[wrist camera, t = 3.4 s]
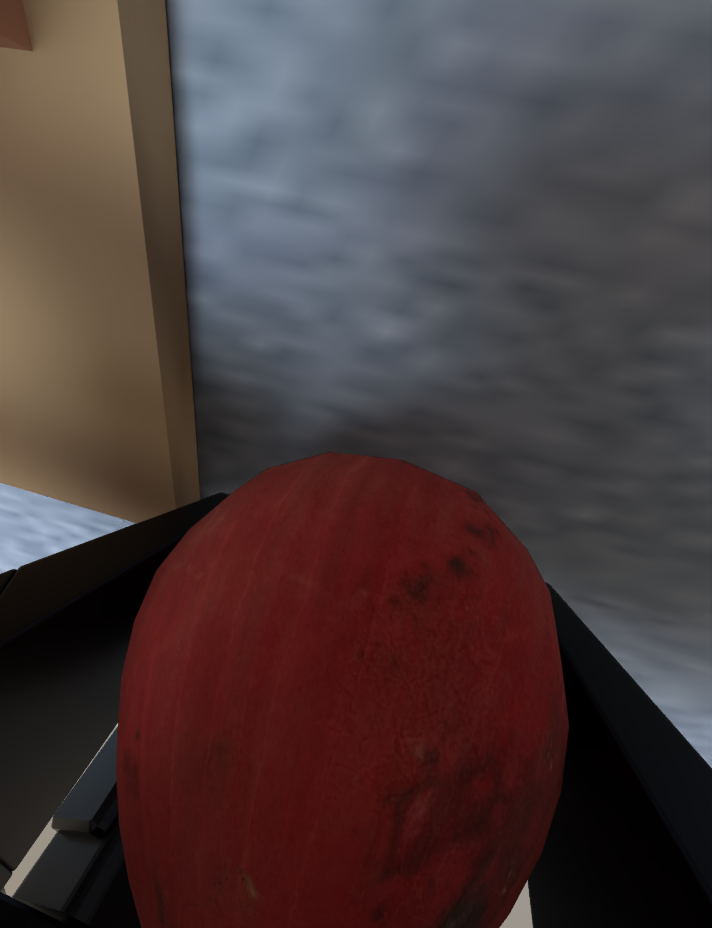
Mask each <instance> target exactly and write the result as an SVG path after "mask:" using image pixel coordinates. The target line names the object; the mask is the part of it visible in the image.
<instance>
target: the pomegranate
mask: <svg viewBox="0 0 712 928" xmlns="http://www.w3.org/2000/svg"><path fill="white" fill-rule="evenodd" d="M568 731H569V721H568V713H567V704H566V696H565V687H564V679H563V670H562V662H561V656H560V650H559V643H558V637H557V631H556V625H555V619H554V613H553V606H552V600H551V594H550V591H549V589H548V587H547V586H546V584H545V582H544V580H543V578H542V576H541V574H540V572H539V570H538V569H537V567H536V565H535V563H534V561H533V559H532V557H531V555H530V553H529V552H528V550H527V548H526V547H525V546H524V545H523V544H522V543H521V542H520V541H519V540H518V538H517V537H516V536H515V535H514V534H513V533H512V532H511V531H510V529H509V528H508V527H507V526H506V525H505V524H504V523H503V522H502V521H501V519H500V518H499V517H498V516H497V515H496V514H495V513H494V512H493V510H492V509H491V508H490V507H489V506H488V505H487V504H486V503H485V501H484V500H483V499H482V498H481V497H480V496H479V495H478V494H477V493H476V492H475V491H473V490H470V489H468V488H466V487H463V486H461V485H459V484H457V483H454V482H452V481H450V480H447V479H445V478H443V477H441V476H438V475H436V474H434V473H431V472H429V471H427V470H425V469H422V468H420V467H418V466H415V465H413V464H411V463H408V462H406V461H404V460H399V459H389V458H380V457H371V456H361V455H352V454H343V453H333V452H328V453H324V454H321V455H317V456H313V457H309V458H305V459H302V460H298V461H294V462H290V463H286V464H283V465H279V466H275V467H271V468H268V469H266V470H265V471H263V472H262V473H260V474H259V475H257V476H256V477H254V478H253V479H251V480H250V481H248V482H247V483H245V484H244V485H242V486H241V487H239V488H238V489H236V490H235V491H234V492H233V493H232V494H230V495H229V496H228V497H227V498H226V499H225V500H223V501H222V502H221V503H220V504H219V505H218V506H216V507H215V508H214V509H213V510H212V511H210V512H209V513H208V514H207V515H206V516H205V517H203V518H202V519H201V520H200V521H199V522H198V523H196V524H195V525H194V526H193V527H192V528H190V529H189V530H188V532H187V533H186V534H185V535H184V537H183V538H182V539H181V540H180V542H179V543H178V544H177V545H176V547H175V548H174V549H173V550H172V552H171V553H170V554H169V555H168V557H167V558H166V559H165V560H164V562H163V563H162V564H161V565H160V567H159V568H158V569H157V570H156V573H155V575H154V577H153V580H152V582H151V584H150V586H149V589H148V591H147V593H146V596H145V598H144V600H143V602H142V605H141V607H140V609H139V612H138V614H137V616H136V618H135V621H134V625H133V630H132V634H131V638H130V642H129V647H128V651H127V655H126V660H125V664H124V668H123V672H122V677H121V691H120V705H119V720H118V734H117V758H116V778H117V796H118V813H119V827H120V833H121V838H122V844H123V850H124V856H125V862H126V868H127V873H128V879H129V884H130V887H131V891H132V895H133V898H134V902H135V906H136V909H137V913H138V917H139V920H140V924H141V928H499V927H500V926H501V925H502V923H503V922H504V920H505V919H506V918H507V916H508V915H509V913H510V912H511V910H512V908H513V906H514V904H515V902H516V901H517V899H518V897H519V895H520V893H521V891H522V889H523V887H524V886H525V884H526V882H527V880H528V878H529V876H530V874H531V872H532V870H533V868H534V867H535V865H536V863H537V861H538V859H539V857H540V855H541V853H542V850H543V847H544V844H545V841H546V837H547V834H548V831H549V828H550V825H551V822H552V819H553V815H554V812H555V809H556V806H557V803H558V800H559V796H560V793H561V789H562V781H563V773H564V764H565V756H566V747H567V739H568Z"/></svg>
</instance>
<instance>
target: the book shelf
mask: <svg viewBox="0 0 712 928" xmlns="http://www.w3.org/2000/svg"><path fill="white" fill-rule="evenodd" d="M0 483H4V484H7V485H11V486H14V487H17V488H21V489H24V490H27V491H31V492H34V493H37V494H41V495H44V496H47V497H51V498H54V499H58V500H61V501H64V502H68V503H71V504H74V505H78V506H81V507H84V508H88V509H91V510H94V511H98V512H101V513H104V514H108V515H111V516H115V517H118V518H121V519H125V520H128V521H131V522H135V523H139V522H142V521H145V520H147V519H150V518H153V517H155V516H158V515H161V514H163V513H166V512H169V511H171V510H174V509H177V508H180V507H182V506H185V505H188V504H190V503H193V502H196V501H198V500H200V486H199V472H198V458H197V444H196V430H195V416H194V401H193V387H192V373H191V359H190V345H189V331H188V317H187V303H186V289H185V275H184V261H183V247H182V232H181V218H180V204H179V190H178V176H177V162H176V148H175V134H174V120H173V106H172V92H171V77H170V63H169V49H168V35H167V21H166V7H165V0H0Z"/></svg>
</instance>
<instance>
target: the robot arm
mask: <svg viewBox="0 0 712 928" xmlns="http://www.w3.org/2000/svg"><path fill="white" fill-rule="evenodd" d="M229 495H230V494H227V493H217V494H215V495H212V496H209V497H206V498H204V499H201V500H198V501H196V502H193V503H190V504H188V505H185V506H182V507H180V508H177V509H174V510H171V511H169V512H166V513H163V514H161V515H158V516H155V517H153V518H150V519H147V520H145V521H142V522H139V523H136V524H134V525H131V526H128V527H126V528H123V529H120V530H118V531H115V532H112V533H109V534H107V535H104V536H101V537H99V538H96V539H93V540H91V541H88V542H85V543H83V544H80V545H77V546H74V547H72V548H69V549H66V550H64V551H61V552H58V553H56V554H53V555H50V556H47V557H45V558H42V559H39V560H37V561H34V562H31V563H29V564H26V565H23V566H21V567H19V568H18V570H16V569H12V570H9V571H7V572H4V573H1V574H0V928H141V924H140V920H139V917H138V913H137V909H136V906H135V902H134V898H133V895H132V891H131V887H130V884H129V879H128V873H127V868H126V862H125V856H124V850H123V844H122V838H121V833H120V827H119V813H118V796H117V778H116V758H117V734H118V727H117V728H116V730H115V731H114V732H113V734H112V735H111V737H110V738H109V739H108V741H107V742H106V743H105V745H104V747H103V748H102V749H101V750H100V752H99V753H98V754H97V756H96V757H95V759H94V760H93V761H92V763H91V764H90V762H91V760H92V759H93V758H94V756H95V755H96V753H97V752H98V751H99V749H100V748H101V746H102V745H103V743H104V742H105V740H106V739H107V738H108V736H109V735H110V733H111V732H112V731H113V729H114V728H115V726H116V725H117V723H118V720H119V705H120V691H121V677H122V672H123V668H124V664H125V660H126V655H127V651H128V647H129V642H130V638H131V634H132V630H133V625H134V621H135V618H136V616H137V614H138V612H139V609H140V607H141V605H142V602H143V600H144V598H145V596H146V593H147V591H148V589H149V586H150V584H151V582H152V580H153V577H154V575H155V573H156V570H157V569H158V568H159V567H160V565H161V564H162V563H163V562H164V560H165V559H166V558H167V557H168V555H169V554H170V553H171V552H172V550H173V549H174V548H175V547H176V545H177V544H178V543H179V542H180V540H181V539H182V538H183V537H184V535H185V534H186V533H187V532H188V530H189V529H190V528H192V527H193V526H194V525H195V524H196V523H198V522H199V521H200V520H201V519H202V518H203V517H205V516H206V515H207V514H208V513H209V512H210V511H212V510H213V509H214V508H215V507H216V506H218V505H219V504H220V503H221V502H222V501H223V500H225V499H226V498H227V497H228V496H229ZM545 584H546V586H547V587H548V589H549V591H550V594H551V600H552V606H553V613H554V619H555V625H556V631H557V637H558V643H559V650H560V656H561V662H562V670H563V679H564V687H565V696H566V704H567V713H568V721H569V731H568V739H567V747H566V756H565V764H564V773H563V781H562V789H561V793H560V796H559V800H558V803H557V806H556V809H555V812H554V815H553V819H552V822H551V825H550V828H549V831H548V834H547V837H546V841H545V844H544V847H543V850H542V853H541V855H540V857H539V859H538V861H537V863H536V865H535V867H534V868H533V870H532V872H531V874H530V876H529V878H528V888H529V897H530V905H531V914H532V923H533V928H712V768H711V767H710V766H709V765H708V764H707V762H706V761H705V760H704V759H703V758H702V757H701V756H700V754H699V753H698V752H697V751H696V750H695V749H694V748H693V746H692V745H691V744H690V743H689V742H688V741H687V740H686V739H685V737H684V736H683V735H682V734H681V733H680V732H679V731H678V729H677V728H676V727H675V726H674V725H673V724H672V723H671V722H670V720H669V719H668V718H667V717H666V716H665V715H664V714H663V712H662V711H661V710H660V709H659V708H658V707H657V706H656V704H655V703H654V702H653V701H652V700H651V699H650V698H649V697H648V695H647V694H646V693H645V692H644V691H643V690H642V689H641V687H640V686H639V685H638V684H637V683H636V682H635V681H634V680H633V678H632V677H631V676H630V675H629V674H628V673H627V672H626V670H625V669H624V668H623V667H622V666H621V665H620V664H619V662H618V661H617V660H616V659H615V658H614V657H613V656H612V655H611V653H610V652H609V651H608V650H607V649H606V648H605V647H604V645H603V644H602V643H601V642H600V641H599V640H598V639H597V638H596V636H595V635H594V634H593V633H592V632H591V631H590V630H589V628H588V627H587V626H586V625H585V624H584V623H583V622H582V620H581V619H580V618H579V617H578V616H577V615H576V614H575V613H574V611H573V610H572V609H571V608H570V607H569V606H568V605H567V603H566V602H565V601H564V600H563V599H562V598H561V597H560V596H559V594H558V593H557V592H556V591H555V590H554V589H553V588H552V586H550V585H549V584H548V583H546V582H545ZM89 764H90V766H89V767H88V768H87V766H88V765H89ZM86 768H87V770H86V771H85V769H86ZM84 771H85V773H84V774H83V772H84ZM82 774H83V775H82ZM81 775H82V777H81V778H80V776H81ZM79 778H80V779H79ZM78 779H79V781H78ZM77 781H78V782H77ZM76 782H77V783H76ZM75 784H76V785H75ZM74 785H75V786H74ZM73 786H74V788H73ZM72 788H73V789H72ZM71 789H72V790H71ZM70 791H71V792H70ZM69 792H70V793H69ZM68 794H69V795H68ZM67 795H68V796H67ZM66 796H67V797H66ZM65 798H66V799H65ZM64 799H65V800H64ZM62 802H63V803H62ZM60 805H61V806H60ZM59 806H60V807H59ZM57 809H58V810H57ZM53 815H54V816H53ZM52 817H53V821H52V828H53V829H54V830H56V831H57V833H56V834H55V836H54V837H53V839H52V840H51V842H50V843H49V844H48V846H47V847H46V849H45V850H44V852H43V853H42V855H41V856H40V858H39V859H38V860H37V862H36V863H35V865H34V866H33V868H32V869H31V870H30V872H29V874H28V875H27V876H26V878H25V879H24V880H23V882H22V883H21V885H20V886H19V888H18V889H17V890H16V892H15V893H14V895H13V896H12V897H13V898H12V897H10V896H8V895H6V892H5V889H4V886H5V884H6V883H7V882H8V880H9V879H10V877H11V876H12V871H14V870H15V869H16V868H17V867H18V865H19V864H20V862H21V861H22V859H23V858H24V857H25V855H26V854H27V852H28V851H29V849H30V848H31V847H32V845H33V844H34V842H35V841H36V839H37V838H38V837H39V835H40V834H41V832H42V831H43V829H44V828H45V827H46V825H47V824H48V822H49V821H50V819H51V818H52Z"/></svg>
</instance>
